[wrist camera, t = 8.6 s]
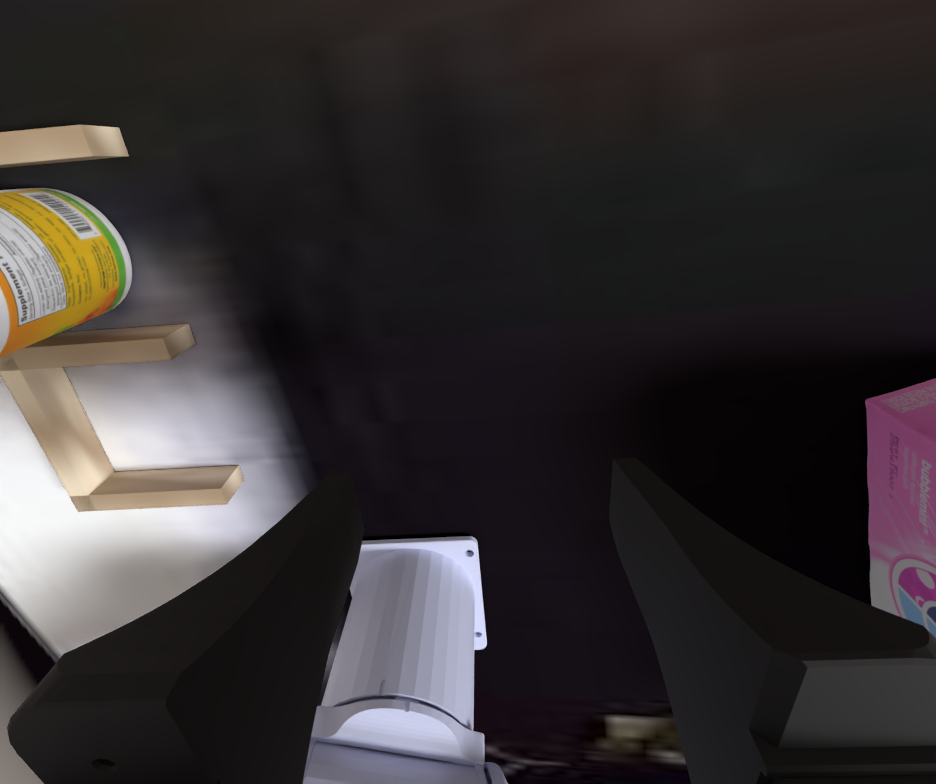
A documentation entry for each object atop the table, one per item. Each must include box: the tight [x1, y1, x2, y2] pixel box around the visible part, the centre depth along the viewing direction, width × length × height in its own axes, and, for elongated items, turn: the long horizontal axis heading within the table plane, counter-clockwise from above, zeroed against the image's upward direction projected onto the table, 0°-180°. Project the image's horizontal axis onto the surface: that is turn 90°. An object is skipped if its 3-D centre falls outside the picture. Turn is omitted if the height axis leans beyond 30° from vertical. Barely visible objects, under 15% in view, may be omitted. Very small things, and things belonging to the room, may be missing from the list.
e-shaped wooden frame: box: [0, 125, 244, 512], centre depth 22 cm, size 17×8×2 cm, turn 5°
